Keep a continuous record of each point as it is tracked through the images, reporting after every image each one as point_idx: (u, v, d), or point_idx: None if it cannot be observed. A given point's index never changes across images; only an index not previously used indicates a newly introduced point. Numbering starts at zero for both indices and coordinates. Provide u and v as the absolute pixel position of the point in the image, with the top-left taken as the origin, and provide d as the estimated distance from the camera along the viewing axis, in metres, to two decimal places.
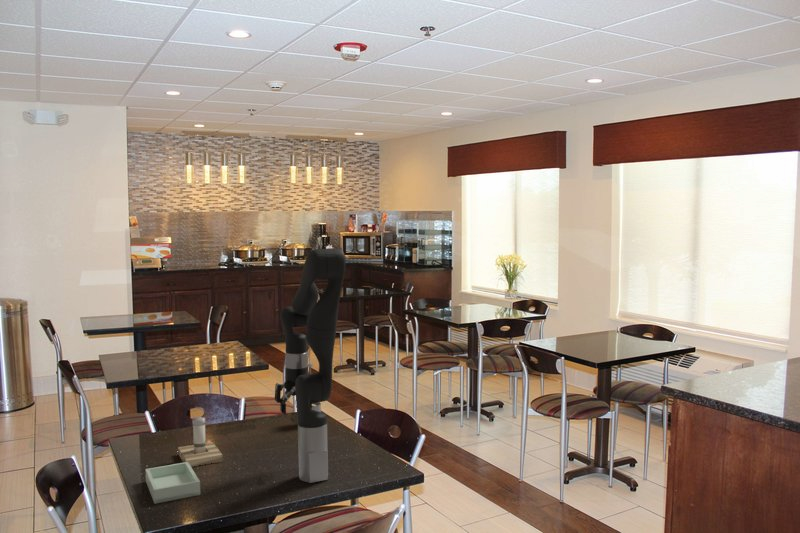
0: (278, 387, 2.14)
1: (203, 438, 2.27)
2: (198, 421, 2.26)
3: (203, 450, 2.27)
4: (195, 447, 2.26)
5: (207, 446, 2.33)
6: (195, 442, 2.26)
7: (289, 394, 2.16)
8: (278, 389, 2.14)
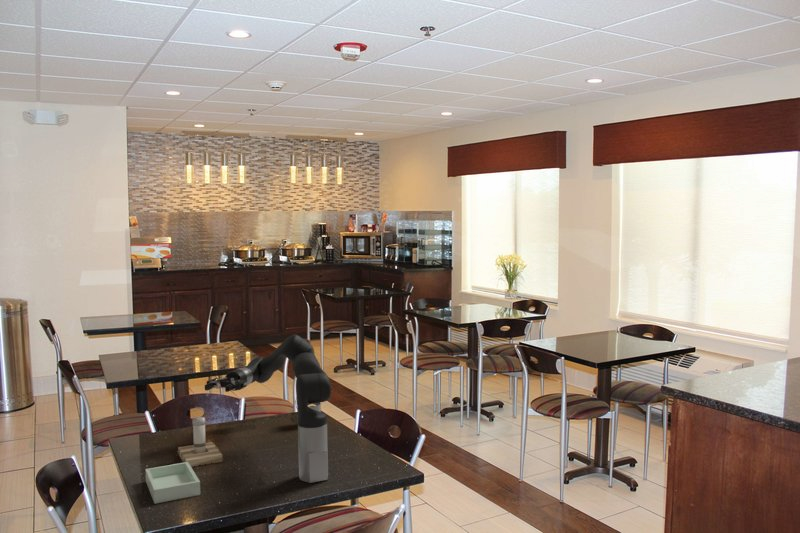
0: (215, 378, 2.49)
1: (203, 438, 2.27)
2: (198, 421, 2.26)
3: (203, 450, 2.27)
4: (195, 447, 2.26)
5: (207, 446, 2.33)
6: (195, 442, 2.26)
7: (219, 379, 2.45)
8: (214, 378, 2.48)
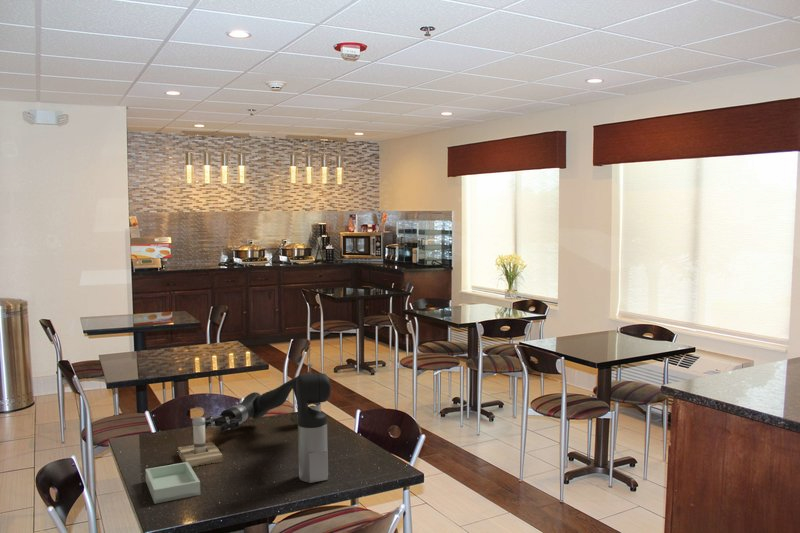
0: None
1: (203, 438, 2.27)
2: (198, 421, 2.26)
3: (203, 450, 2.27)
4: (195, 447, 2.26)
5: (207, 446, 2.33)
6: (195, 442, 2.26)
7: (214, 418, 2.42)
8: (208, 417, 2.45)
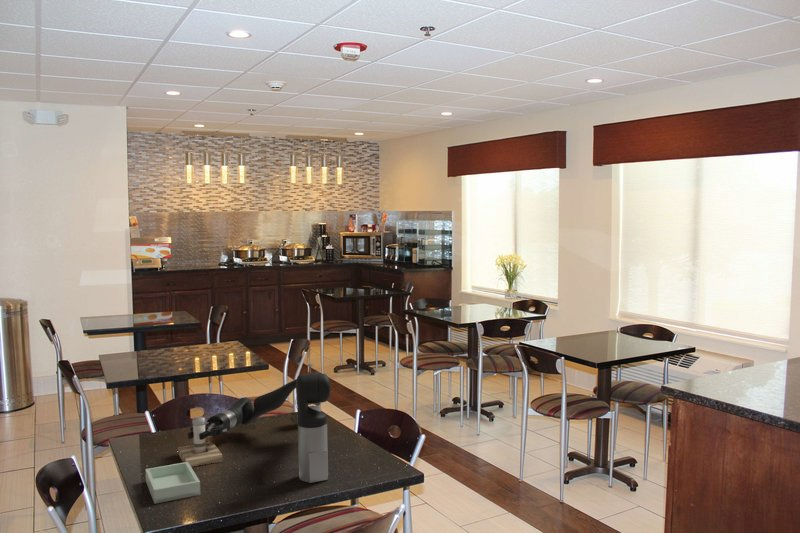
0: None
1: None
2: (198, 421, 2.25)
3: (203, 450, 2.27)
4: (195, 447, 2.26)
5: (207, 446, 2.33)
6: (195, 442, 2.26)
7: None
8: None
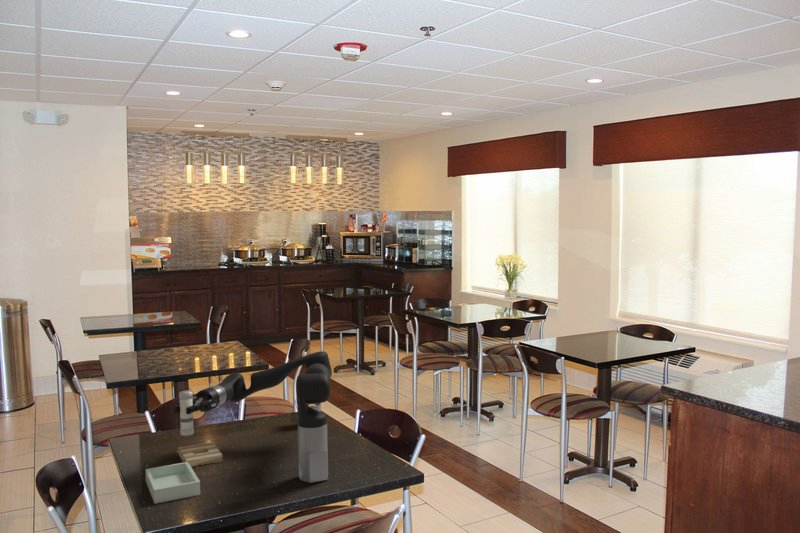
0: None
1: None
2: (185, 394, 2.12)
3: (190, 425, 2.14)
4: (182, 422, 2.13)
5: (207, 446, 2.33)
6: (182, 417, 2.13)
7: None
8: None
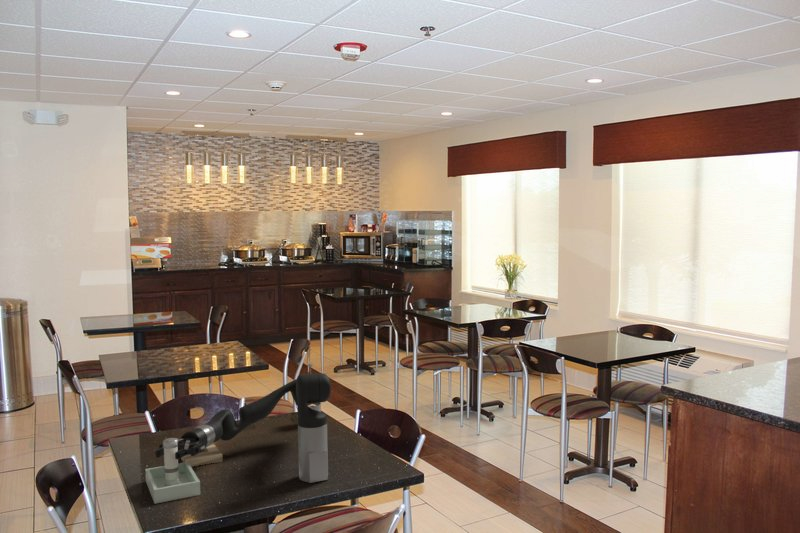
0: None
1: (175, 462, 2.00)
2: (169, 443, 1.98)
3: (175, 476, 2.00)
4: (166, 473, 1.99)
5: None
6: (166, 467, 1.99)
7: None
8: None
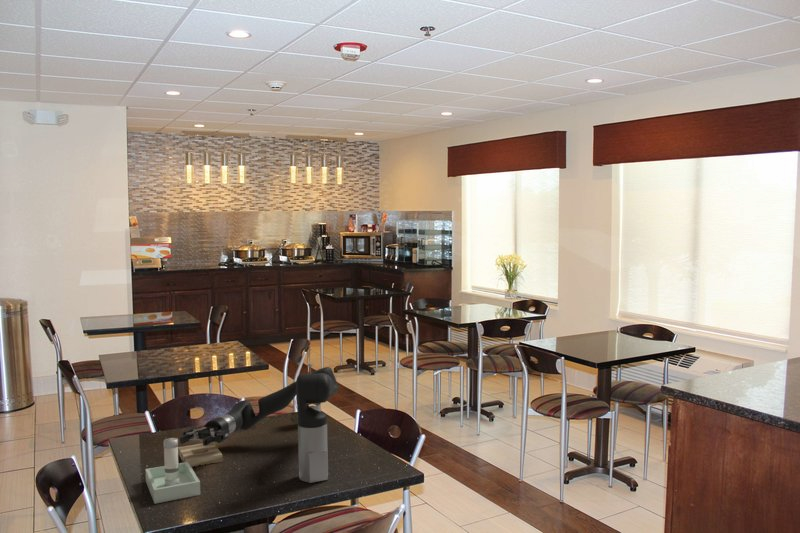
0: (192, 428, 2.22)
1: (175, 462, 2.00)
2: (169, 443, 1.98)
3: (175, 476, 2.00)
4: (166, 473, 1.99)
5: (207, 446, 2.33)
6: (166, 467, 1.99)
7: (197, 429, 2.18)
8: (191, 428, 2.21)
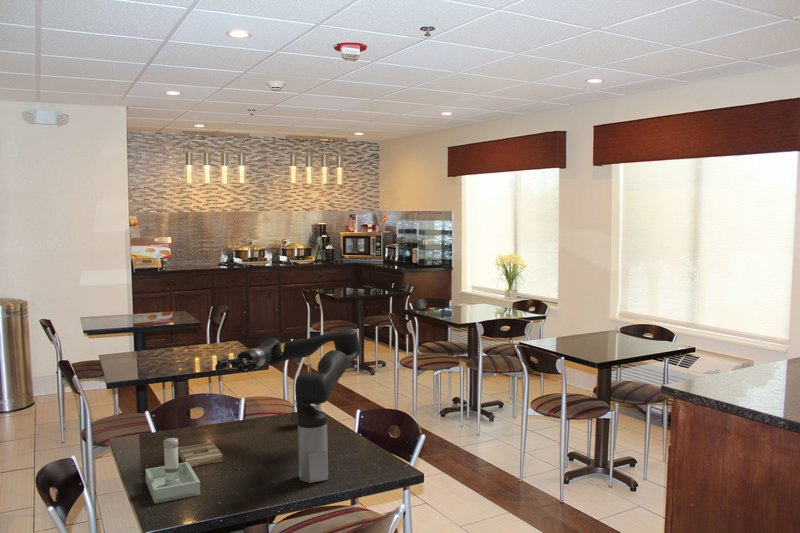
0: (225, 359, 2.35)
1: (175, 462, 2.00)
2: (170, 443, 1.98)
3: (175, 476, 2.00)
4: (166, 473, 1.99)
5: (207, 446, 2.33)
6: (166, 467, 1.99)
7: (230, 359, 2.32)
8: (224, 359, 2.35)
